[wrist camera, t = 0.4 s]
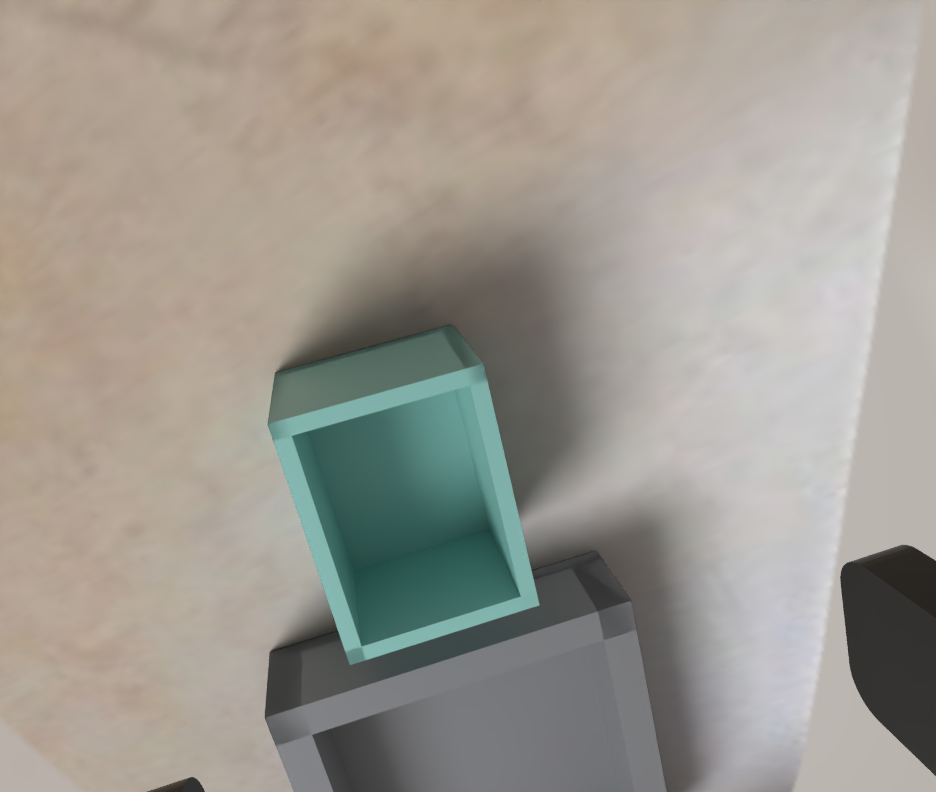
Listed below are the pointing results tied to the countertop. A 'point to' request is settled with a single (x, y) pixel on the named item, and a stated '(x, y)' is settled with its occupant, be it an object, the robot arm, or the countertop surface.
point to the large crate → (479, 702)
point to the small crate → (402, 490)
